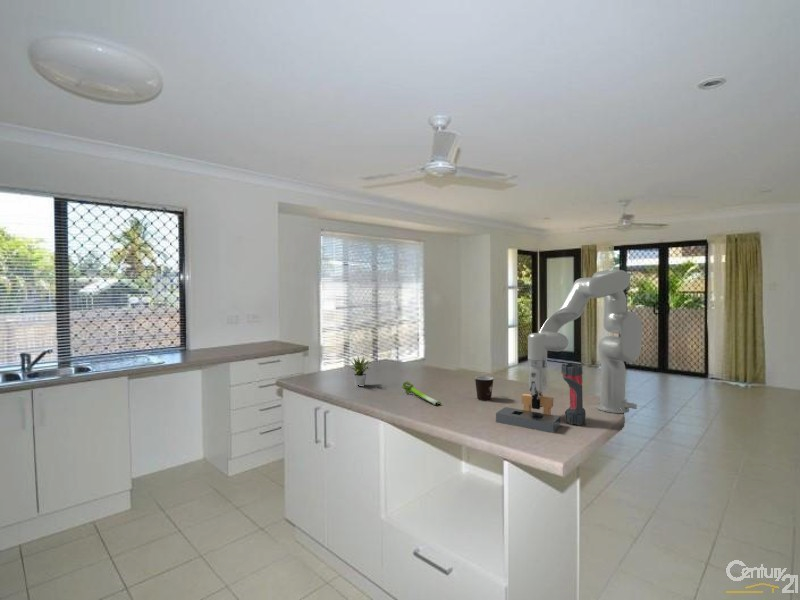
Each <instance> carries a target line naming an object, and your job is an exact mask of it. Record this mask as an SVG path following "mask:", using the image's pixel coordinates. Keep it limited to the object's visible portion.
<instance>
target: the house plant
mask: <svg viewBox="0 0 800 600" xmlns="http://www.w3.org/2000/svg"><path fill="white" fill-rule="evenodd" d="M352 359H353V361H354V362H353V361H351V360H350V363H351V364H352V365H353V366H354V367H349V369H352V370H354V372H355V373H353V381H354V386H355V385H366V379H367V373H365V372H366V370H369V371H370V370H371V369H370V365H368V364H371V362H372V358H371V359H367V360H366V357H365V356H364V355H363V356H362V359H361V361H360V358H359V356H357V359H356V358H354V357H353V358H352ZM365 360H366V361H365Z"/></svg>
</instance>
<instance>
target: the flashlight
mask: <svg viewBox="0 0 800 600" xmlns="http://www.w3.org/2000/svg"><path fill="white" fill-rule="evenodd" d="M583 373H584V371H583V366H582V365H581V364H579V363H576V364H573V363H567V364H565V363H562V364H561V374H562V378H563V380H564V382H566V383H567V384H568V387H569V404H570V405H569V408H567V409H566V410H565V411H564V420H565V422H564V423H566V424H569V425H570V426H573V425H577V426H585V425H586V424H587V423H586V409H585V408H584V407H583V403H584V402H583Z"/></svg>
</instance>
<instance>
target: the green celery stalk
mask: <svg viewBox="0 0 800 600" xmlns="http://www.w3.org/2000/svg"><path fill="white" fill-rule="evenodd" d="M401 388H402V389H403V390H404V391H405V394H406V393H407V394H409V393H410V392H411V393H413V394H415V395H416V396H418V397H421V398H422V399H424V400H426V401H427V402H428V403H431V404H432V405H434V406H436V403H437V405H438V404H440V405H439V406H441V405H442V403H441V401H439V400H437V399H435V398H432V397H431V396H428V395H426V394H425V393H423V392H421V391H420V390H418V389H416V388H415V387H414V384H413V383H411V382H410V381H404V382H403V384H402V387H401ZM407 394H406V395H407Z"/></svg>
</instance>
